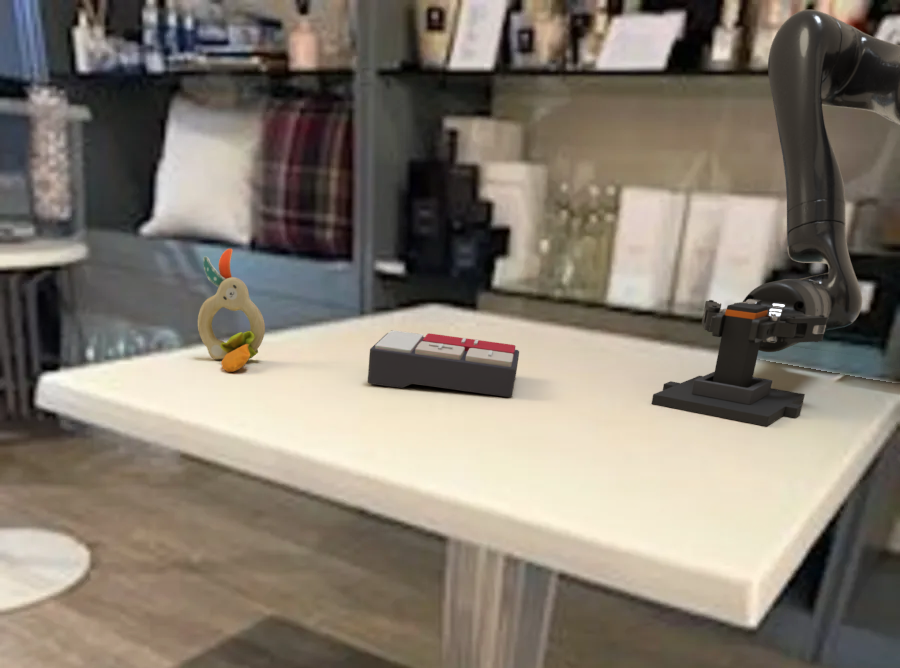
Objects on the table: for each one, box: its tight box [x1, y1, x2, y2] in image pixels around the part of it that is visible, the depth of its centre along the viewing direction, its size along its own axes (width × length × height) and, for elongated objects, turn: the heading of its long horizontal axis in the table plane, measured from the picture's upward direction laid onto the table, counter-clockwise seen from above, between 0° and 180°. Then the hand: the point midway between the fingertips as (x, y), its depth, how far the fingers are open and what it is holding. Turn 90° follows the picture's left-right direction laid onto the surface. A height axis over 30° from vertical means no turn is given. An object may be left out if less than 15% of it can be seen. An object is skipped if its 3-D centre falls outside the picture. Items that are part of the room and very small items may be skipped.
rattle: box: [197, 248, 266, 373], centre depth 93 cm, size 8×8×12 cm
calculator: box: [367, 329, 520, 398], centre depth 94 cm, size 11×4×15 cm
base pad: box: [651, 371, 806, 427], centre depth 93 cm, size 14×14×2 cm
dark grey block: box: [713, 301, 768, 388], centre depth 91 cm, size 4×3×9 cm
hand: (735, 328), depth 88 cm, fingers closed on dark grey block, 3 cm apart
